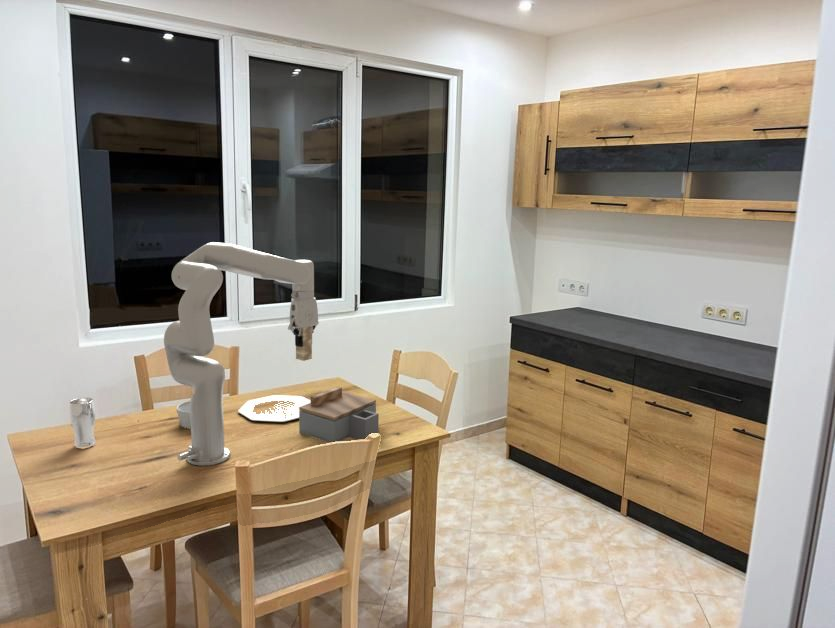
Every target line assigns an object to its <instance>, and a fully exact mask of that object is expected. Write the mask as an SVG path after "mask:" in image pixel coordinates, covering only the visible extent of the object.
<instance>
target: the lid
mask: <svg viewBox="0 0 835 628" xmlns="http://www.w3.org/2000/svg"><path fill="white" fill-rule="evenodd" d="M310 400H311V403H309V404H306V405H304V406H301V407H299V410H301V411H304V412H308V413H311V414H314V415H317V416H321V417H324V418H327V419H331V420H334V421H335V420H337V419H339V418H342V417H344V416H346V415H349V414H351V413H353V412H356V411H358V410H360V409H363V408H365V407H367V406H369V405H372V404H374V403H376V404H377V400H376V399H374V398H370V397H366V396H363V395H359V394H354V393H350V392H347V391H343V387H341V386H335V387H333V388H330V389H328V390H325V391H322V392H320V393H316V394H315V395H311V396H310Z"/></svg>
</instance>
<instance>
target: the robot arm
mask: <svg viewBox="0 0 835 628" xmlns="http://www.w3.org/2000/svg"><path fill="white" fill-rule="evenodd" d="M222 271H223V272H229V273H233V274H237V275H242V276H246V277H251V278H255V279H261V280H273V281H276V282H278V283H281V284H290V285H291V284H292V285H291V286H292V288H291V289H292V293H291V294H290V297H291V301H290V308H289V325H288V326H287V330H288V331H290V332H291V333H292V334H293V336H294V343H295V344H294V346H295V347H296V346H299V347H302V346H303V341H302V336H301V333H302V328H306V327H310V326H312V334H314V332H315V328H316V327H317V326H318V325H319V322H320V321H319V309H318V302H317V298H316V297H315V265H314V262H313V261H312V260H309V259H296V260H295V259H290V258H286V257H281V256H278V255H273V254H270V253H266V252H262V251H259V250H255V249H252V248H247V247H244V246H241V245H237V244H233V243H226V242H216V241H215V242H214V241H212V242H208V243H206V244H204V245H202V246H200V247H199V248H197V249H195V250H194V251H193V252H192V253H190V254H189V255H187V256H186V257H184V258H182V259H181V260H180V261H179V262H177V263H176V264H175V265H174V266H173V269H172V271H171V280H172V282H173V284H174V286H175V287H177V288H179V289H180V290H183V291H184V293H183V294H182V296H181V298H180V300H179V303H178V308H177V311H178V320H175V321H173V322H171V323H170V324H169V325H168V326H167V327H166V329H165V331H164V334H163V335H164V336H163V345H164V351H165V355H166V360H167V365H168V369H169V373H170V376H171V377H172V380H174V381H175V382H176V383H177V384H180V385H184V386H188V387H190V388H193V392H192V394H191V397H190V400H189V401H190V421H191V429H190V435H191V436H190V437H191V438H190V439H191V442H190V443H191V444H190V445H189V446H188V450H186V452H182V453H179V454H178V455H177V460H178V461H179V462H181V461H184V460H186V461H187V463H189V464H191V465H194V466H200V467H203V466H204V467H205V466H206V465H207V466H213V465H218V464H221V463H223V462H225V461H227V460H228V459H229V458H230V457H231V452H230V449H229V448H227V447H225V425H224V407H223V406H224V403H223V402H224V401H223V400H224V399H223V397H224V395H223V394H224V386H225V380H226V370H225V368H224V366H223V365H222V364H221V363H220V362H219V361H217V360H216V359H213V358H209V357H205V356H208V355H210V354H211V353H212V352H213V350H214V348H215V338H214V333H213V326H212V320H211V315H210V313H211V312H210V305H211V302H212V300H213V297H214V296H215V295H216V293H217V292H218V290H220V288H221V286H222V284H223V281H224V275H223V274H224V273H223V272H222ZM297 330H298V331H297Z"/></svg>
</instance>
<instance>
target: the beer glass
mask: <svg viewBox="0 0 835 628" xmlns="http://www.w3.org/2000/svg"><path fill="white" fill-rule="evenodd" d="M69 418H70V423H71V426H72V430H73V434H74V445H75V446H76V447H89V446H92V445H94V444H95V443H96V444H97V442H96V441H97V440H96V439H95V424H96V423H95V422H96V409H95V402H94V399H93V398H92V397H87V396H86V397H78V398H73V399H72V400H70V401H69Z"/></svg>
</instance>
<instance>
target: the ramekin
mask: <svg viewBox="0 0 835 628" xmlns="http://www.w3.org/2000/svg"><path fill="white" fill-rule="evenodd" d="M176 414H177V416H178V417H177V418H178V420H179V424H180V426H181V427H182V428H183V427H184V428H183V429H186V428H187V429H186V430H191V421H190V400H186V401H184V402H181V403H179V404H178V405H177V406H176Z"/></svg>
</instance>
